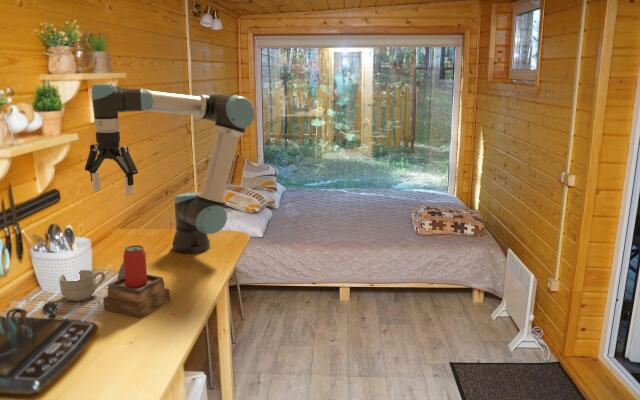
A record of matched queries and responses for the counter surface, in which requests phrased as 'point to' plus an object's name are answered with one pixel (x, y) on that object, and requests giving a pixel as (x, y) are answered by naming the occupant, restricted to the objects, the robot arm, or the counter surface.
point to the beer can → (135, 266)
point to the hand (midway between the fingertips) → (113, 192)
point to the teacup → (80, 285)
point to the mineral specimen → (121, 271)
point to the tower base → (137, 307)
